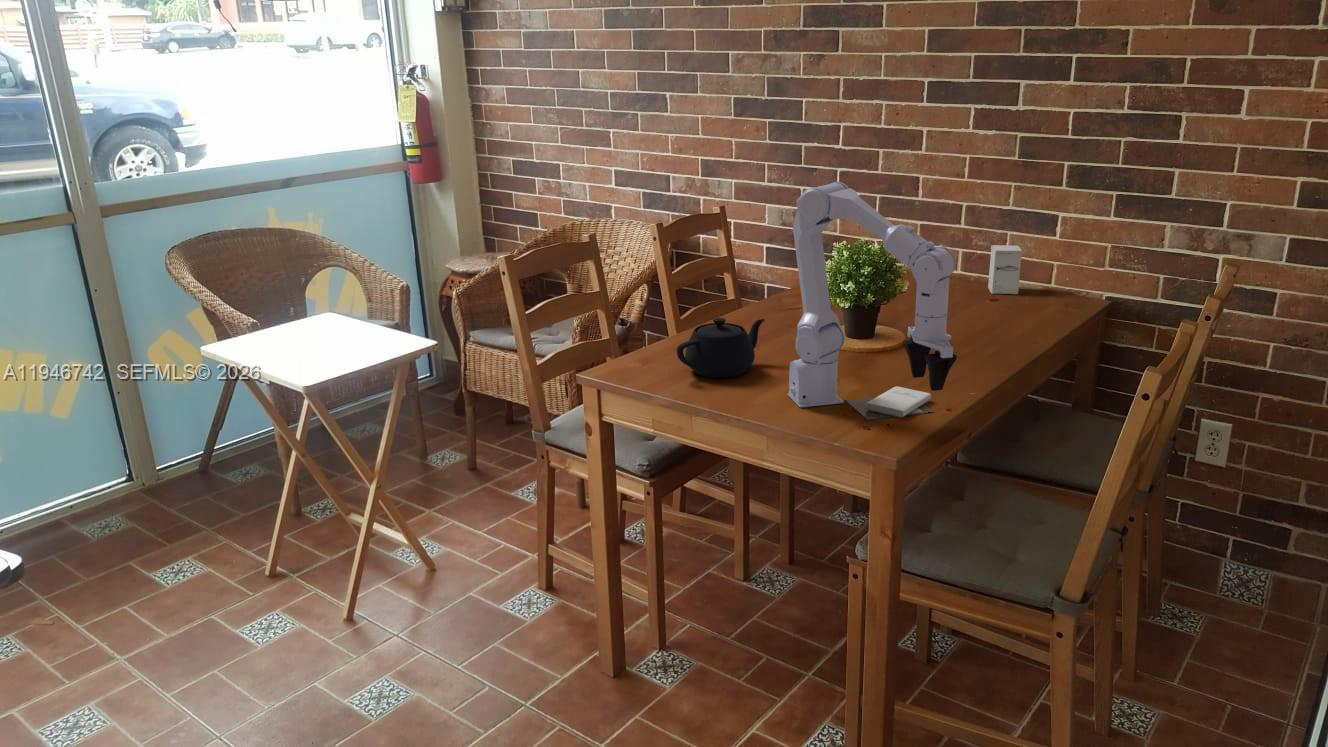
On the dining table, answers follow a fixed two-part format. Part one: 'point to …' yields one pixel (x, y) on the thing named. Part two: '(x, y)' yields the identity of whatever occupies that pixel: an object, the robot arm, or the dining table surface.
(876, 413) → the bay plate
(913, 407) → the external hard drive
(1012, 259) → the supplement box
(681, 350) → the teapot
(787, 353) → the dining table surface
